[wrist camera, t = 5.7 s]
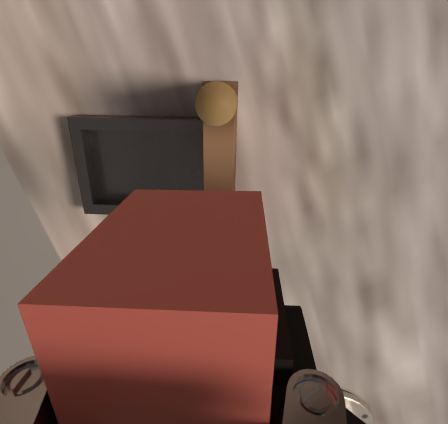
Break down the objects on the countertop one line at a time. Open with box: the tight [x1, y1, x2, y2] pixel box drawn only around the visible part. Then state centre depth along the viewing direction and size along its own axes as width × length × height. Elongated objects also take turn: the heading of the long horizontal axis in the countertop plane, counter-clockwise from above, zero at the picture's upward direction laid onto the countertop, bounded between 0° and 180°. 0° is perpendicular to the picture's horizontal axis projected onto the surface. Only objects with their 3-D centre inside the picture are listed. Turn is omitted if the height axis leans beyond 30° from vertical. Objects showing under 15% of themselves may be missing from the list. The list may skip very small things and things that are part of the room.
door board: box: [195, 81, 238, 191], centre depth 24 cm, size 15×2×10 cm, turn 179°
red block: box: [18, 189, 278, 424], centre depth 9 cm, size 4×8×7 cm, turn 0°
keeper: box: [67, 115, 204, 215], centre depth 28 cm, size 9×12×2 cm
